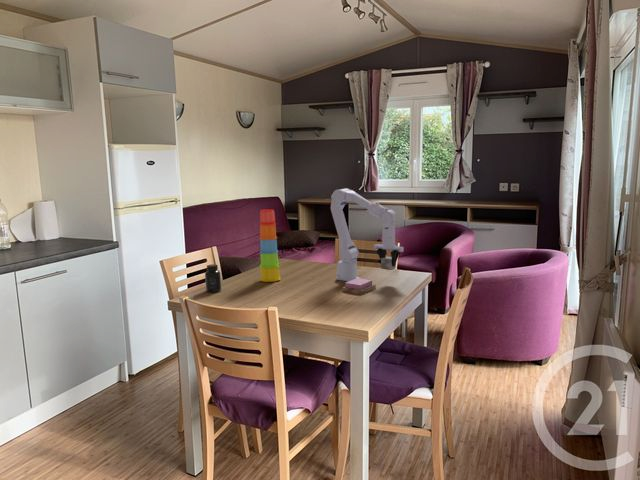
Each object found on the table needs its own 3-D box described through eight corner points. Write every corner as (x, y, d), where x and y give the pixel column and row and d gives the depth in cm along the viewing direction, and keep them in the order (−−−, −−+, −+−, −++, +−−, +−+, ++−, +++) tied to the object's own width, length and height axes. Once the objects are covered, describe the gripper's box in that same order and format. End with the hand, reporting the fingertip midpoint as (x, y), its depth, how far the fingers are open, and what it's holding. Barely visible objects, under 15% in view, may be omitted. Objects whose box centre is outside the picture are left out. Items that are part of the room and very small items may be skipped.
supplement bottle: (224, 289, 224) (222, 264, 222) (216, 293, 218) (214, 267, 216) (211, 288, 226) (209, 263, 224) (203, 292, 220) (201, 266, 218)
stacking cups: (256, 281, 237) (253, 210, 231) (266, 276, 246) (263, 208, 240) (275, 283, 233) (272, 211, 227) (284, 278, 242) (282, 209, 236)
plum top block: (345, 287, 217) (345, 282, 217) (357, 282, 225) (357, 278, 224) (360, 289, 212) (360, 285, 212) (372, 284, 220) (372, 280, 220)
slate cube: (381, 268, 226) (381, 258, 225) (386, 266, 230) (386, 256, 229) (390, 270, 223) (390, 259, 222) (395, 268, 227) (395, 257, 226)
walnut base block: (342, 292, 217) (342, 287, 217) (357, 286, 226) (357, 281, 226) (361, 296, 211) (361, 290, 211) (375, 289, 220) (375, 284, 220)
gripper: (370, 236, 225) (370, 265, 227) (398, 239, 216) (398, 269, 218) (378, 234, 230) (378, 262, 233) (405, 236, 222) (405, 266, 224)
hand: (388, 265), depth 226 cm, fingers closed on slate cube, 5 cm apart
